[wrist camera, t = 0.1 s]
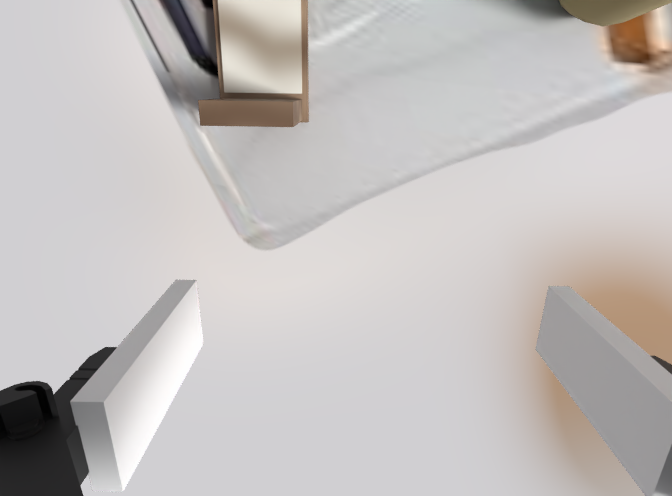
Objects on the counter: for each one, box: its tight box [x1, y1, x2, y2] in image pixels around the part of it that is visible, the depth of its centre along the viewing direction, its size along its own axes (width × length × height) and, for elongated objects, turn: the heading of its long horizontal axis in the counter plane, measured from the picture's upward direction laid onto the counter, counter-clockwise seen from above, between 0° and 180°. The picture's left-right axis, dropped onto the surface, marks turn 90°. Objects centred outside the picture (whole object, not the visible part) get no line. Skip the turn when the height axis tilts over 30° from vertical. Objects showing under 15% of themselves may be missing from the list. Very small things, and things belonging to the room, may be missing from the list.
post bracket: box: [198, 0, 309, 127], centre depth 34 cm, size 14×8×9 cm, turn 179°
